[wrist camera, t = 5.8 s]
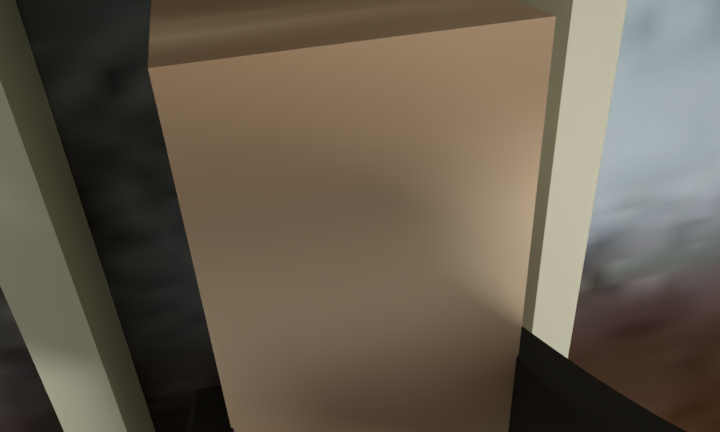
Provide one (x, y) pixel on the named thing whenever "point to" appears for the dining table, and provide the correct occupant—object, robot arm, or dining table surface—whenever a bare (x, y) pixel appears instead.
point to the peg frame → (86, 276)
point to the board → (357, 201)
